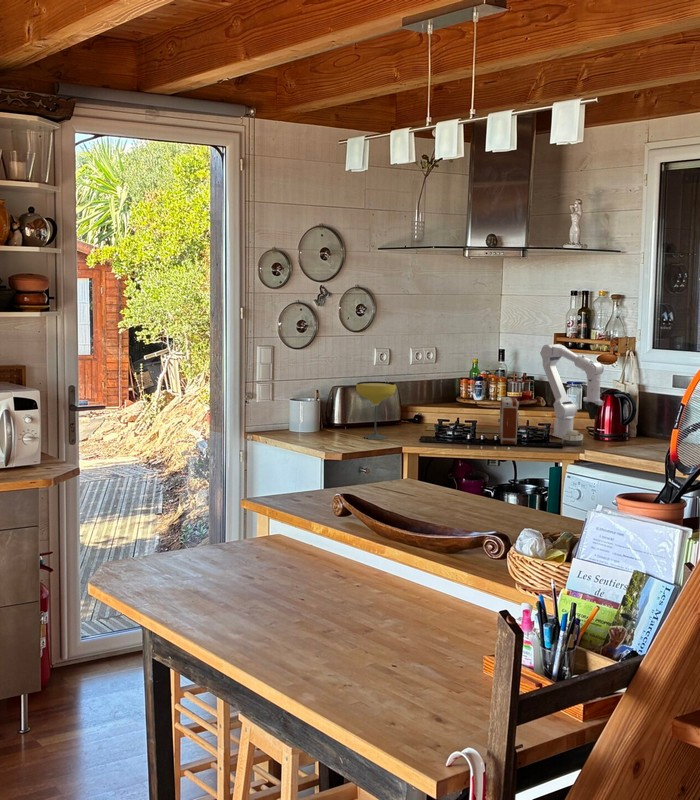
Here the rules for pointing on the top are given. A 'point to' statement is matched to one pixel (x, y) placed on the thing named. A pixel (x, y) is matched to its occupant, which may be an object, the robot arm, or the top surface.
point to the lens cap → (572, 432)
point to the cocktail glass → (375, 397)
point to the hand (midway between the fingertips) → (592, 419)
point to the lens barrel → (572, 440)
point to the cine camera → (508, 420)
